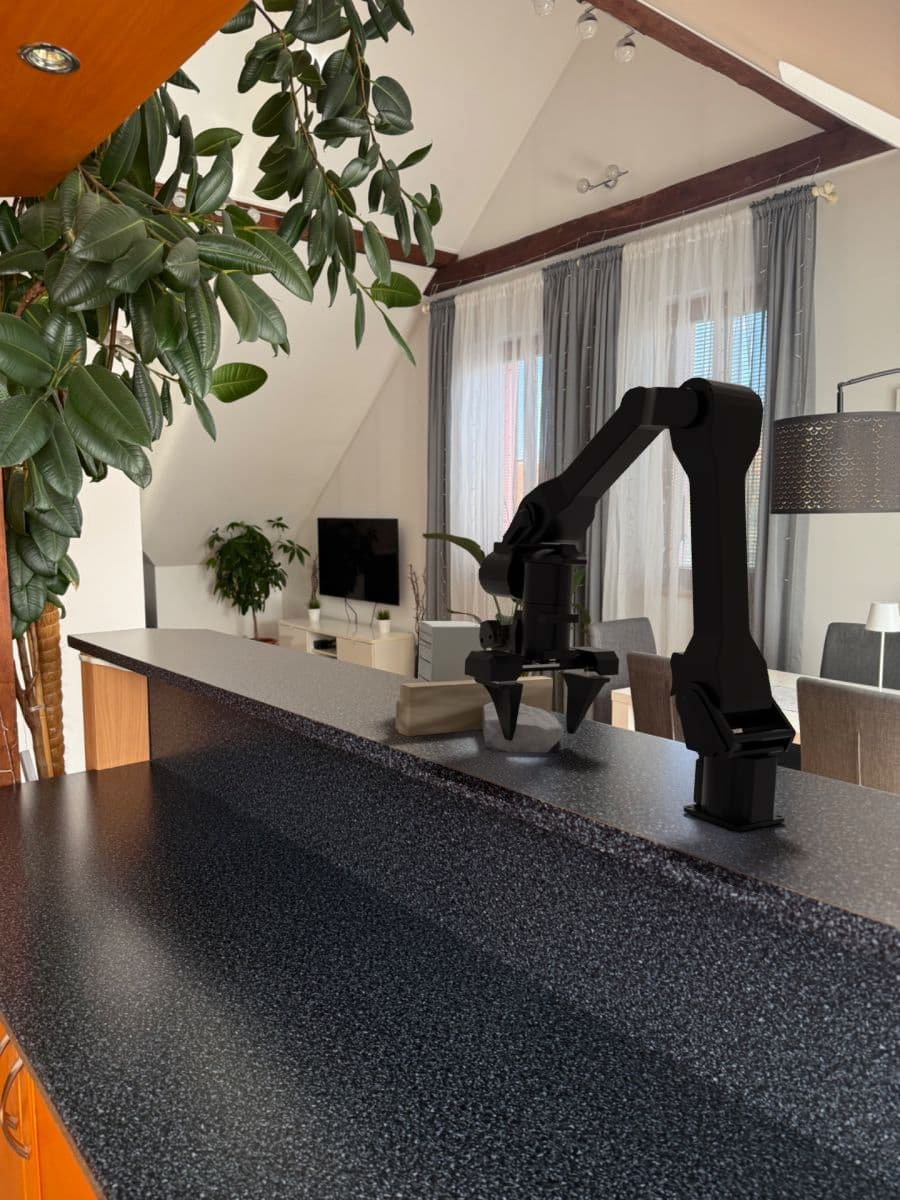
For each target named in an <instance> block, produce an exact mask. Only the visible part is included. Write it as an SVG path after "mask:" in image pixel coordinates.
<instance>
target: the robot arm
mask: <svg viewBox="0 0 900 1200" xmlns="http://www.w3.org/2000/svg"><path fill="white" fill-rule="evenodd" d="M762 401H763V400H762V398H761V395H760V394H759V393H757V392H756V391H755V390H753V389H752V388H751V387H749V386H747V385H744V384H738V383H733V382H727V381H721V380H717V379H713V378H712V379H711V378H705V377H702V376H698V377H697V376H696V377H691V378H688V379H687V380H685V381H683V383H681V384H680V385H679V386H677V387H674V386H673V387H672V386H653V387H652V386H651V387H648V386H641V385H638V386H635V387H631V388H629V389H628V390H627V391H626V392H624V394H623V396H622V398H621V401H620V403H619V406H618V408H617V409H616V410H615V411H614V412H613V413H612V415H610V417H609V419H607V420H606V422H605V423H604V424H603V425H602V426H601V427H600V429H599V430H598V431H597V432H596V433H595V435H594V436H593V437H592V438H591V439H590V440H589V441H588V443H586V445H585V446H584V447H583V449H582V450H581V451H580V452H579V453H578V454H577V456H576V457H575V458H574V459H573V461H571V463H570V464H569V465H568V466H567V467H566V468H565V470H563V471H562V472H561V473H560V474H559V475H557V476H555V477H552V478H550V479H547V480H545V481H543V482H541V483H539V484H538V485H536V486H535V487H534V488H533V489H531V491H529V492H528V493H527V494H526V495H525V496H523V498H522V499H521V501H520V502H519V504H518V507H517V509H516V511H515V514H514V516H513V518H512V519H511V522H510V524H509V526H508V528H507V530H506V531H505V532H504V534H503V535H502V540H501V541H493V548H492V549H493V550H492V552H490V553H488V554H487V555H486V556H485V557H484V558H483V560H482V561H481V564H480V567H479V568H478V572H477V573H478V581H479V585H480V586H481V588H482V589H483V591H485V593H486V594H488V595H490V596H493V597H500V598H508V599H515V600H522V603H521V604H522V607H521V609H515V610H514V611H515V612H514V613H513V619H512V623H510V624H502V623H501V622H500V620H498V619H486V620H483V621H481V622H480V624H479V625H480V632H479V639H480V645H481V647H482V648H483V650H477V651H471V652H470V653H469V655H468V656H467V658H466V660H465V674H464V675H468V676H472V677H474V680H475V682H476V683H480V684H483V686H484V687H485V688H486V689H487V691H488V692H489V694H490V696H491V698H492V701H493V703H494V706H495V709H496V712H497V716H498V719H499V722H500V726H501V729H502V732H503V735H504V738H505V739H506V740H508V741H512V740H513V737H514V733H515V730H516V724H517V718H518V713H519V707H520V701H521V695H522V690H523V684H522V683H518V682H515V681H517V680H518V678H519V677H522V674H523V673H531V672H532V673H534V672H550V671H551V672H552V671H553V672H554V671H561V675H562V677H563V680H564V682H565V684H566V687H567V688H566V689H567V691H566V695H567V696H566V716H565V717H566V718H565V721H566V722H565V723H566V725H565V726H566V732H567V734H569V735H575V734H576V732H577V731H578V729H579V727H580V726H581V724H582V723H583V721H584V718H585V716H586V715H587V713H588V711H589V709H590V708H591V706H592V704H593V703H594V701H595V700H596V698H597V696H598V695H599V694H600V692H601V691H602V689H603V687H604V686H605V685H606V684H607V683H610V682H611V677H608V676H618V675H619V674H620V673H619V670H620V668H619V667H620V658H619V657H618V655H617V653H616V652H615V650H611V649H605V648H600V647H595V646H571V630H572V624H575V623H576V624H578V623H580V622H579V619H580V618H579V617H580V613H573V612H572V610H573V594H574V593H573V591H574V574H575V572H574V571H575V566H586V565H587V564H588V560H587V558H586V557H585V556H584V555H583V554H582V553H581V552H580V550H578V548H577V545H576V544H577V543H578V542H580V540H581V539H582V538H583V536H584V535H585V533H586V532H587V530H588V529H589V527H591V525H592V523H593V522H594V520H595V518H596V507H597V503H598V502H599V501H600V499H601V498H602V497H603V495H604V494H605V493H606V492H608V491H609V489H610V488H611V487H612V486H613V485H614V484H615V483H616V482H617V481H618V480H619V478H620V477H622V475H623V474H624V473H625V472H626V471H627V470H628V468H630V467H631V465H633V463H634V462H635V461H636V460H637V459H638V458H639V457H640V456H641V455H642V454H643V453H644V451H645V450H646V449H648V447H649V446H650V445H651V444H652V443H654V441H655V439H656V438H657V437H658V436H660V434H661V433H662V432H664V431H665V430H669V436H670V437H669V438H670V444H671V448H672V452H673V453H674V455H675V457H676V458H677V461H678V462H679V464H680V465H681V467H682V469H683V471H684V472H685V475H686V477H687V479H688V487H689V515H690V516H689V520H690V521H689V522H690V525H689V526H690V551H691V552H690V553H691V555H690V557H691V559H690V561H691V583H692V585H691V587H692V589H691V591H692V594H691V595H692V622H693V623H692V628H693V631H692V636H691V638H690V640H689V642H688V644H687V646H686V648H685V650H684V651H673V652H672V653H671V657H670V660H669V663H670V670H671V678H672V679H671V688H670V691H669V697H671V698H672V697H674V703H675V708H676V712H677V715H678V717H679V720H680V724H681V725H680V726H681V727H682V728H681V729H682V733H683V738H684V743H685V744H684V745H685V748H686V750H688V751H692V752H696V754H697V756H698V758H696V759H695V768H694V782H693V784H694V786H693V798H692V799H693V802H694V803H693V804H688V805H684V806H683V810H682V811H683V812H684V813H687V814H689V815H692V816H694V817H697V818H700V819H702V820H706V821H708V822H711V823H713V824H716V825H718V826H721V827H724V828H727V829H730V830H733V831H736V832H743V831H748V830H753V829H758V828H763V827H767V826H771V825H772V826H773V825H776V824H783V823H785V820H786V817H785V815H782V814H778V813H776V812H775V800H776V799H775V798H776V787H777V786H776V784H777V770H778V759H779V758H778V757H779V756H777V755H775V754H772V753H780V752H781V753H782V752H783V753H785V752H786V753H787V752H790V750H791V748H792V745H793V743H794V739H795V738H796V735H797V731H796V728H795V727H794V726H793V725H792V723H791V722H790V720H789V718H788V717H787V716H786V714H785V713H784V712H783V710H782V708H781V707H780V705H779V704H778V702H777V701H776V699H775V698H774V696H773V693H772V688H771V687H772V686H771V681H770V676H769V675H770V674H769V669H768V664H767V661H766V659H765V657H764V656H763V654H762V652H761V650H760V648H759V647H758V645H757V643H756V642H755V639H754V638H753V636H752V634H751V630H750V610H749V609H750V606H749V604H750V603H749V602H750V601H749V576H748V574H749V573H748V572H749V571H748V549H747V548H748V544H747V543H748V539H747V537H748V536H747V511H746V508H747V507H746V475H747V472H748V471H749V469H750V466H751V465H752V463H753V461H754V459H755V457H756V455H757V453H758V451H759V448H760V446H761V440H762V439H761V437H762V429H763V428H762V427H763V420H764V404H763V402H762ZM739 729H741V731H742V732H736V733H735V732H734V730H739Z"/></svg>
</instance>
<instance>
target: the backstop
mask: <svg viewBox="0 0 900 1200" xmlns="http://www.w3.org/2000/svg"><path fill="white" fill-rule="evenodd" d="M515 682H518V683H522V684H523V690H522V695H521V701H520V703H522V704H524V705H526V706H531V707H535V708H540V709H542V710H544V711H546V712H548V713H550V714H551V715H552V704H553V686H554V685H553V684H554V683H553V682H554V678H553V677H549V676H545V675H532V676H520V677H519V678H518V680H517V681H515ZM399 689H400V690H399V700H396V706H395V708H396V710H395V711H396V712H395V730H397V731H398V734H399V733H400V734H402V735H404V736H405V737H414V736H415V737H416V736H426V735H434V734H435V735H436V734H447V733H448V734H449V733H456V732H467V731H469V732H470V731H479V730H482V716H483V706H484V705H486V704H488V703H491V702H493V701H492V698H491V696H490V694H489V692H488V691H487V689H486V688H485V687H484V686H483V684H480V683H476V682H475V680H461V681H444V682H426V683H418V682H414V683H413V682H412V683H400V685H399Z"/></svg>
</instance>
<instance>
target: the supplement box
mask: <svg viewBox="0 0 900 1200" xmlns="http://www.w3.org/2000/svg"><path fill="white" fill-rule="evenodd" d="M479 632H480V624H479V623H478V624H477V623H475V622H471V621H467V620H466V621H465V620H462V621H461V620H460V621H459V620H420V621H419V638H418V640H419V641H418V644H419V645H418V669H417V670H418V672H417V683H426V682H444V681H461V680H474V677H472V676H468V675H464V674H465V660H466V658H467V656H468V655H469V653H470V652H471V651H477V650H484V649H483V648H482V647H481V645H480V639H479Z"/></svg>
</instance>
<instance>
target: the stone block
mask: <svg viewBox="0 0 900 1200" xmlns="http://www.w3.org/2000/svg"><path fill="white" fill-rule="evenodd" d="M481 730H482V731H481V732H482V736H483V740H484V744H485V745H484V746H485V747H486V748H487V749H489V750H491V751H492V752H508V753H509V752H510V753H511V752H513V753H515V752H526V753H527V752H528V753H544V754H545V753H548V752H550V751H551V749H552V748H553V747H555V746H556V745H557V743H558V742H559V741H560V740H561V738H562V736H563V733H564V730H565V729H564V726H563V725H562V724H560V723H559V720H557V718H556V717H555V716H554V715H552V713H551V714H550V713H548V712H546V711H544V710H542V709H540V708H535V707H531V706H526V705H524V704H522V703H520V707H519V713H518V718H517V724H516V730H515V733H514V737H513V740H512V741H508V740H506V739H505V738H504V735H503V732H502V729H501V726H500V722H499V719H498V716H497V712H496V709H495V706H494V703H493V702H491V703H488V704H486V705H484V706H483V716H482V729H481Z"/></svg>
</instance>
